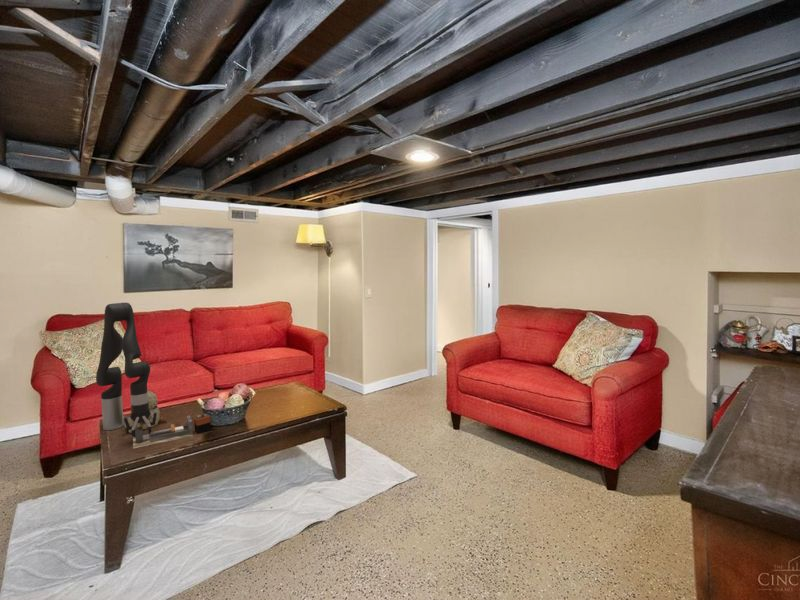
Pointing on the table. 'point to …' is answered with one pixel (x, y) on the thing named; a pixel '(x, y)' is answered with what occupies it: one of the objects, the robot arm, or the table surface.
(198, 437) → the table surface
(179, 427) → the marker
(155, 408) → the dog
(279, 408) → the table surface
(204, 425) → the battery
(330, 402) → the table surface
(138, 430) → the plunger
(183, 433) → the gauge board
